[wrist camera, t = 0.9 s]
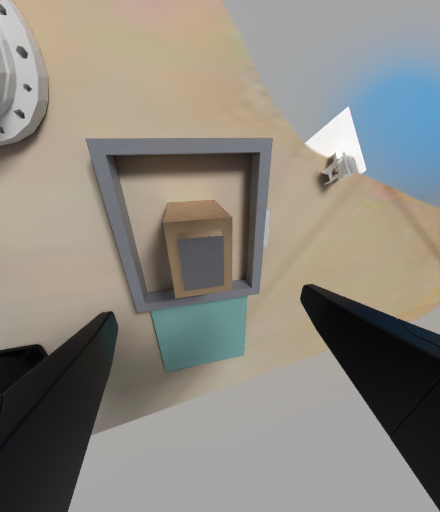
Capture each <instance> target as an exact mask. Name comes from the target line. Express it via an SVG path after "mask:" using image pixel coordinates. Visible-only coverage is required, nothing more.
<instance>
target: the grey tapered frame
mask: <svg viewBox="0 0 440 512" xmlns="http://www.w3.org/2000/svg"><path fill="white" fill-rule="evenodd" d="M272 140H273V138H140V139H86V142H87V146H88V149H89V152H90V156H91V159H92V163H93V166H94V169H95V173H96V176H97V179H98V183H99V186H100V189H101V193H102V196H103V199H104V203H105V206H106V210H107V213H108V216H109V220H110V223H111V226H112V230H113V233H114V236H115V240H116V243H117V247H118V250H119V253H120V257H121V260H122V263H123V267H124V270H125V273H126V277H127V280H128V284H129V287H130V290H131V294H132V297H133V300H134V304H135V307H136V310H137V313H140V312H146V311H153V310H159V309H165V308H172V307H178V306H184V305H191V304H197V303H203V302H210V301H216V300H222V299H229V298H235V297H241V296H248V295H254V294H259V290H260V278H261V267H262V255H263V247H267V243H268V233H269V222H270V212H271V210H270V209H268V208H267V197H268V186H269V174H270V163H271V151H272ZM246 153H252V162H251V184H250V206H249V228H248V250H247V272H246V279H242V280H235V281H232V290H229V291H223V292H216V293H209V294H203V295H196V296H189V297H183V298H175V292H174V289H172V290H165V291H158V292H150V293H148V292H147V288H146V284H145V280H144V276H143V272H142V268H141V264H140V260H139V256H138V252H137V248H136V244H135V240H134V236H133V232H132V228H131V224H130V220H129V216H128V212H127V208H126V204H125V200H124V196H123V192H122V188H121V184H120V180H119V176H118V172H117V168H116V164H115V159H114V156H140V155H193V154H246Z"/></svg>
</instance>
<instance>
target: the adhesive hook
mask: <svg viewBox="0 0 440 512" xmlns="http://www.w3.org/2000/svg"><path fill="white" fill-rule="evenodd" d="M331 159H332V160H333V163H332V164H331V165H329V166H328V167H327V168H326V169H325V170H323V171H322V174H327V175H328V176H329V179H330V180H329V181H328V182H326V183H324V185H326V184H328V183H331V182H332V181H334V180H335V179H336V178H344V177H345V176H347V174H349V177H351V174H350V173H360V167H361V163H360V162H359V161H358V160H357V159H356V158H355V157H354V156H353V155H351V154H346V152H345V151H343V152H342V153H341V151H340V150H337V151H335V152H334V154H333V155H332V156H331ZM335 165H336V168H337V170H338V173H337V174H334V175H333V176H332V171H333V169H334V167H335Z"/></svg>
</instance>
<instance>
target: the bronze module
mask: <svg viewBox="0 0 440 512" xmlns="http://www.w3.org/2000/svg"><path fill="white" fill-rule="evenodd" d="M163 227H164V233H165V239H166V245H167V251H168V257H169V262H170V268H171V274H172V280H173V286H174V292H175V298H183V297H189V296H196V295H203V294H209V293H216V292H223V291H229V290H232V216H231V215H230V214H228V213H227V212H226V211H225V210H224V209H223V208H222V207H221V206H220V205H219V204H218V203H217V202H216V201H215V200H203V201H187V202H171V203H168V204H167V208H166V212H165V216H164V220H163Z"/></svg>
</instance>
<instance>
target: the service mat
mask: <svg viewBox="0 0 440 512" xmlns="http://www.w3.org/2000/svg"><path fill="white" fill-rule="evenodd" d="M246 307H247V296H241V297H235V298H229V299H222V300H216V301H210V302H203V303H197V304H191V305H184V306H178V307H172V308H165V309H159V310H153V311H151V314H152V318H153V322H154V326H155V330H156V334H157V338H158V342H159V346H160V350H161V354H162V358H163V362H164V366H165V370H166V372H168V371H173V370H178V369H182V368H187V367H192V366H196V365H201V364H205V363H210V362H215V361H219V360H224V359H229V358H233V357H238V356H243V355H244V346H245V326H246Z"/></svg>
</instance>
